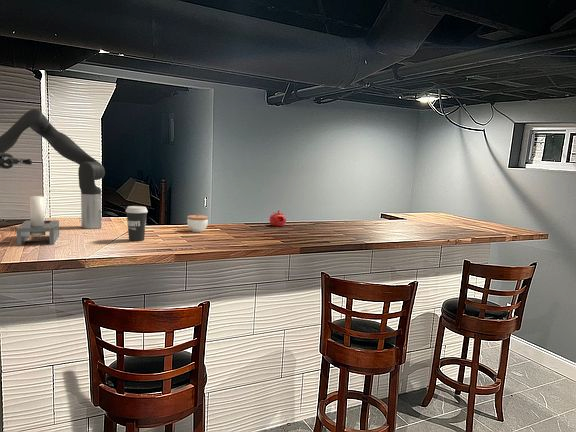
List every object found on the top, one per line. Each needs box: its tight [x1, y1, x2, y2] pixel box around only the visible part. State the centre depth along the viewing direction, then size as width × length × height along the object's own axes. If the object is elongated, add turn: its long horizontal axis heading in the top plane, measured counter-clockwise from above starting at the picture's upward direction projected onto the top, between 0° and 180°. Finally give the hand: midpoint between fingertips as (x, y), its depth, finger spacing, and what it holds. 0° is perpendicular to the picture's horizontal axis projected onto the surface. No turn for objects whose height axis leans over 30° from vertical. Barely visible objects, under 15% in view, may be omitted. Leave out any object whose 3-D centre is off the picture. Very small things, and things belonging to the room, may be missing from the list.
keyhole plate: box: [16, 219, 60, 247], centre depth 184 cm, size 20×13×7 cm, turn 22°
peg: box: [29, 195, 46, 237], centre depth 180 cm, size 6×6×16 cm
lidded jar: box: [186, 212, 209, 233], centre depth 225 cm, size 11×11×9 cm
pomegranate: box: [269, 209, 287, 228], centre depth 256 cm, size 10×10×9 cm
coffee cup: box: [125, 205, 149, 242], centre depth 194 cm, size 10×10×15 cm
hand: (21, 162), depth 199 cm, fingers open, 8 cm apart
